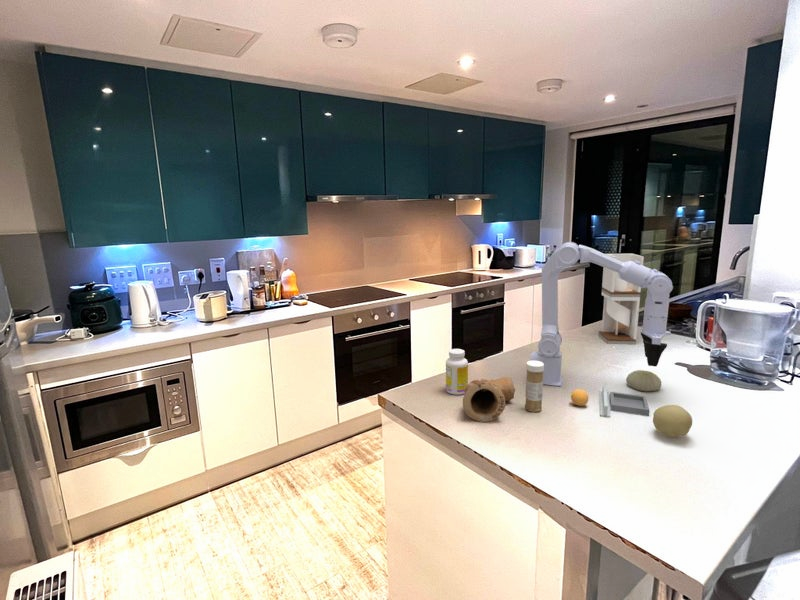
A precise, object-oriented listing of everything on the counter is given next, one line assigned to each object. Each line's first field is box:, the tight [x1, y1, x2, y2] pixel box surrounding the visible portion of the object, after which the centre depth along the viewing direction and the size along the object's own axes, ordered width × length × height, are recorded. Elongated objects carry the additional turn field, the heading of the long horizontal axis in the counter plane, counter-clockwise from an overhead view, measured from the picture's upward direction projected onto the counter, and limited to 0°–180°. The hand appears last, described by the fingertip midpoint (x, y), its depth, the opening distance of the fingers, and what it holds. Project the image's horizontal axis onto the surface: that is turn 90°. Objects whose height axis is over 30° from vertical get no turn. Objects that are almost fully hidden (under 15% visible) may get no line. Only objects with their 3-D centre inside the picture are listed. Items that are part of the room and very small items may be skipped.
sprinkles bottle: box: [524, 360, 544, 413], centre depth 116 cm, size 5×5×14 cm
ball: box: [570, 388, 589, 407], centre depth 118 cm, size 4×4×4 cm
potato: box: [652, 404, 693, 439], centre depth 101 cm, size 8×8×8 cm
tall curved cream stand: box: [598, 253, 645, 345], centre depth 172 cm, size 11×11×35 cm
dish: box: [609, 391, 651, 417], centre depth 117 cm, size 9×9×2 cm
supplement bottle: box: [445, 348, 469, 396], centre depth 129 cm, size 7×7×13 cm
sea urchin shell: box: [625, 369, 663, 392], centre depth 129 cm, size 9×8×8 cm
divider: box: [598, 382, 611, 418], centre depth 119 cm, size 2×16×3 cm, turn 156°
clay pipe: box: [462, 376, 516, 423], centre depth 116 cm, size 19×11×15 cm
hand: (650, 361), depth 123 cm, fingers open, 7 cm apart
